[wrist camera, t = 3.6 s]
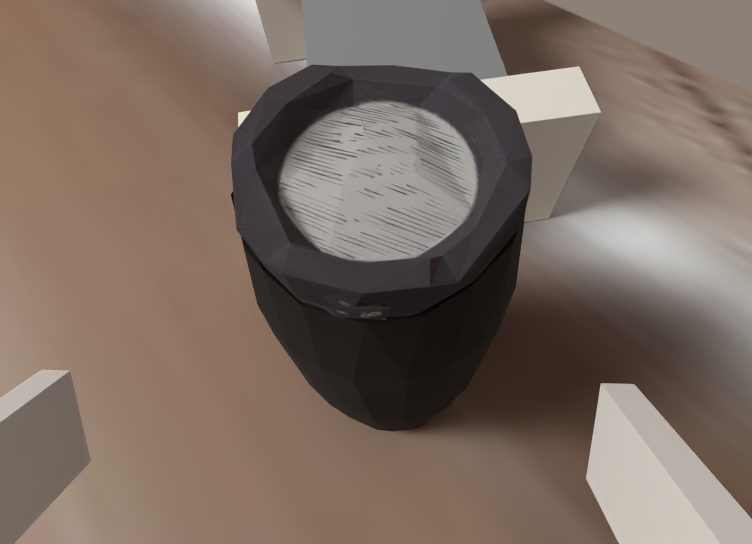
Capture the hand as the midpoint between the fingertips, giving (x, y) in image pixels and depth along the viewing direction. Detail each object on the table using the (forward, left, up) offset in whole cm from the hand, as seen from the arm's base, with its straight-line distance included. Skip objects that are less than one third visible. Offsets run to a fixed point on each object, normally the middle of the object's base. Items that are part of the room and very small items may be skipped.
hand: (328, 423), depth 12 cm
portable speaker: (+6, -2, -17) cm, 18 cm away
